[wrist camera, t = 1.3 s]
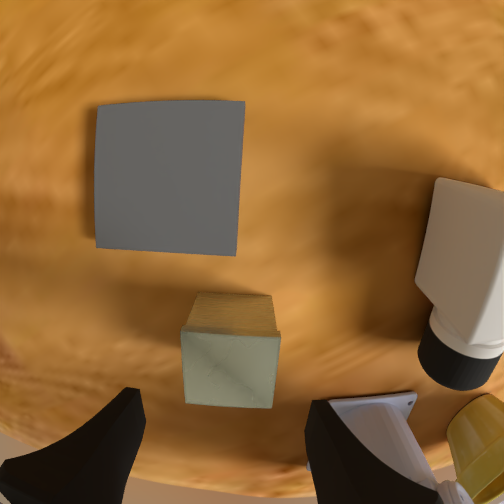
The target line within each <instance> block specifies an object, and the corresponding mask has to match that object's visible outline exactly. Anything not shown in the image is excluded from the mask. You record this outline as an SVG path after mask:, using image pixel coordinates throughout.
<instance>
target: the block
mask: <svg viewBox="0 0 504 504" xmlns="http://www.w3.org/2000/svg"><path fill="white" fill-rule="evenodd" d="M244 119H245V101H221V100H174V101H149V102H133V103H121V104H110V105H101V106H98V112H97V124H96V139H95V163H94V213H95V236H96V248H106V249H121V250H137V251H154V252H170V253H186V254H203V255H220V256H236V250H237V234H238V216H239V198H240V181H241V165H242V149H243V134H244Z"/></svg>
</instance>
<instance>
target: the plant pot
mask: <svg viewBox="0 0 504 504" xmlns="http://www.w3.org/2000/svg"><path fill="white" fill-rule="evenodd" d="M446 436H447V439H448V443H449V446H450V450H451V454H452V458H453V462H454V466H455V471H456V476H457V479H456V481H455V482H458V483H459V484H460V485H461V486H462V487H463V488H464V489H465V491H466V492H467V493H468V495H469V496H470V498H471V499H472V501H473V503H474V504H487V503H489V502H491V501H492V500H494V499H496V498H497V497H499V496H500V495H502V494H503V493H504V402H502V401H501V400H499V399H498V398H496V397H495V396H494V395H491V394H487V395H483V396H480V397H478V398H476V399H474V400H473V401H471V402H470V403H469V404H467V405H466V406H465V407H464V408H463V409H462V410H460V411H459V412H458V414H457V415H456V416H455V417H454V418H453V419H452V421H451V422H450V424H449V426H448V428H447V432H446Z"/></svg>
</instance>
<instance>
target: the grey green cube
mask: <svg viewBox="0 0 504 504" xmlns="http://www.w3.org/2000/svg"><path fill="white" fill-rule="evenodd" d="M180 335H181V353H182V368H183V381H184V393H185V403H189V404H199V405H210V406H224V407H241V408H272V403H273V396H274V389H275V381H276V374H277V366H278V358H279V350H280V342H281V334H280V331H277V325H276V319H275V313H274V307H273V301H272V296H264V295H244V294H227V293H211V292H198V294H197V296H196V299H195V302H194V304H193V307H192V309H191V312H190V315H189V317H188V320H187V323H186V325H183V326H182V328H181V331H180Z"/></svg>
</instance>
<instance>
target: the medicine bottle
mask: <svg viewBox="0 0 504 504" xmlns="http://www.w3.org/2000/svg"><path fill="white" fill-rule="evenodd" d="M415 284H416V285H417V286H418V287H419V288H420V290H421V291H422V292H423V293H424V294H425V295H426V296H427V297H428V299H429V300H430V301H431V302H432V303H433V304H434V307H433V310H432V313H431V315H430V318H429V321H428V324H427V326H426V329H425V332H424V334H423V337H422V339H421V342H420V345H419V347H418V358H419V361H420V363H421V366H422V368H423V369H424V371H425V372H426V373H427V374H428V375H429V376H430V377H431V378H432V379H433V380H434V381H436V382H437V383H439V384H441V385H443V386H445V387H447V388H450V389H454V390H460V391H467V390H472V389H476V388H478V387H481V386H482V385H484V384H485V383H486V382H487V380H488V379H489V377H490V375H491V374H492V372H493V370H494V368H495V366H496V365H497V363H498V361H499V359H500V357H501V355H502V353H503V351H504V192H503V191H499V190H495V189H491V188H487V187H483V186H479V185H475V184H470V183H466V182H462V181H457V180H452V179H447V178H442V177H439V178H437V179H436V181H435V186H434V192H433V198H432V204H431V210H430V215H429V220H428V225H427V230H426V235H425V239H424V244H423V248H422V252H421V257H420V261H419V265H418V269H417V272H416V276H415Z"/></svg>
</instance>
